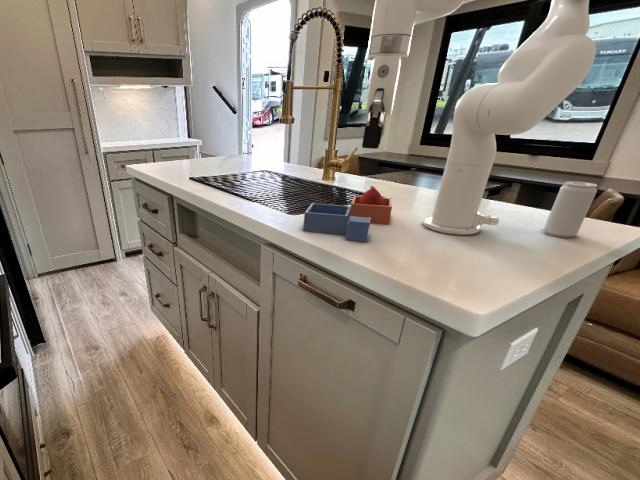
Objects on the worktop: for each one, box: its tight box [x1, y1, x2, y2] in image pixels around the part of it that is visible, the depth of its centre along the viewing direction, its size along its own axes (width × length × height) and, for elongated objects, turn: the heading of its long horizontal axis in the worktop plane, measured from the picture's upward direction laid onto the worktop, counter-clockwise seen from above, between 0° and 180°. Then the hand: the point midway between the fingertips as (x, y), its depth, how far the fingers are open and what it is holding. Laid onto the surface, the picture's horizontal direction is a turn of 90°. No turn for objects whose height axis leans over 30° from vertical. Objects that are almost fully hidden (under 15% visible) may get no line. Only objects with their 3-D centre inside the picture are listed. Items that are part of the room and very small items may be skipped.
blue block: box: [345, 216, 371, 243], centre depth 83 cm, size 4×4×4 cm
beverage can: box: [543, 180, 598, 238], centre depth 84 cm, size 6×6×12 cm
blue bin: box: [302, 202, 351, 236], centre depth 91 cm, size 10×10×5 cm
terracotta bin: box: [349, 195, 393, 225], centre depth 99 cm, size 10×10×5 cm
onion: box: [360, 185, 383, 206], centre depth 98 cm, size 6×6×8 cm
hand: (371, 146), depth 77 cm, fingers open, 9 cm apart
